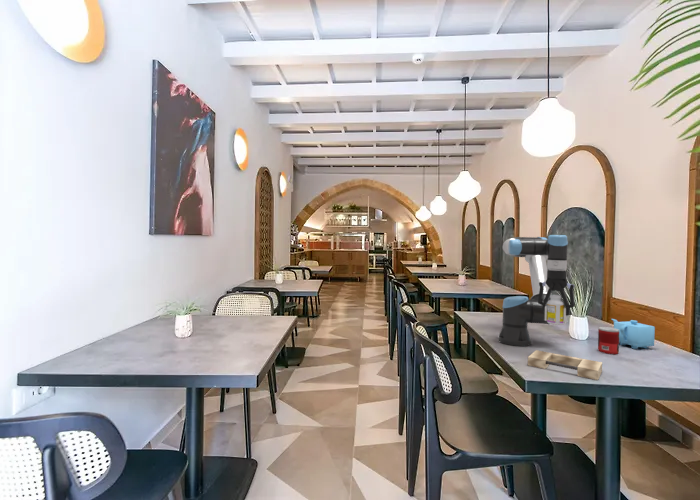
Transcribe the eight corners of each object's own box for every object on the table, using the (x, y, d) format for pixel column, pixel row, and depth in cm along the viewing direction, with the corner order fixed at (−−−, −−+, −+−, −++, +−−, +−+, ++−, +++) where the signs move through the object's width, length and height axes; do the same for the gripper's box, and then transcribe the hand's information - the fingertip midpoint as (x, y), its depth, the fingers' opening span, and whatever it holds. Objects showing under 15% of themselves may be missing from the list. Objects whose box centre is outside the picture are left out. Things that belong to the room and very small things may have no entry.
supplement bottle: (562, 322, 163) (563, 294, 162) (565, 326, 156) (566, 296, 156) (545, 321, 165) (546, 293, 164) (548, 324, 158) (549, 295, 158)
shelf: (527, 365, 149) (527, 356, 149) (535, 358, 159) (536, 350, 159) (597, 380, 134) (598, 370, 134) (602, 371, 143) (602, 362, 143)
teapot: (658, 348, 177) (658, 322, 176) (633, 350, 173) (634, 323, 173) (622, 339, 194) (622, 315, 194) (599, 340, 190) (599, 316, 190)
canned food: (622, 355, 165) (622, 331, 165) (602, 353, 167) (603, 330, 167) (613, 350, 173) (614, 327, 173) (594, 349, 174) (595, 326, 174)
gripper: (530, 268, 163) (529, 319, 164) (581, 271, 151) (580, 326, 151) (534, 268, 169) (533, 317, 170) (584, 270, 156) (582, 323, 157)
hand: (555, 321), depth 160 cm, fingers closed on supplement bottle, 7 cm apart
